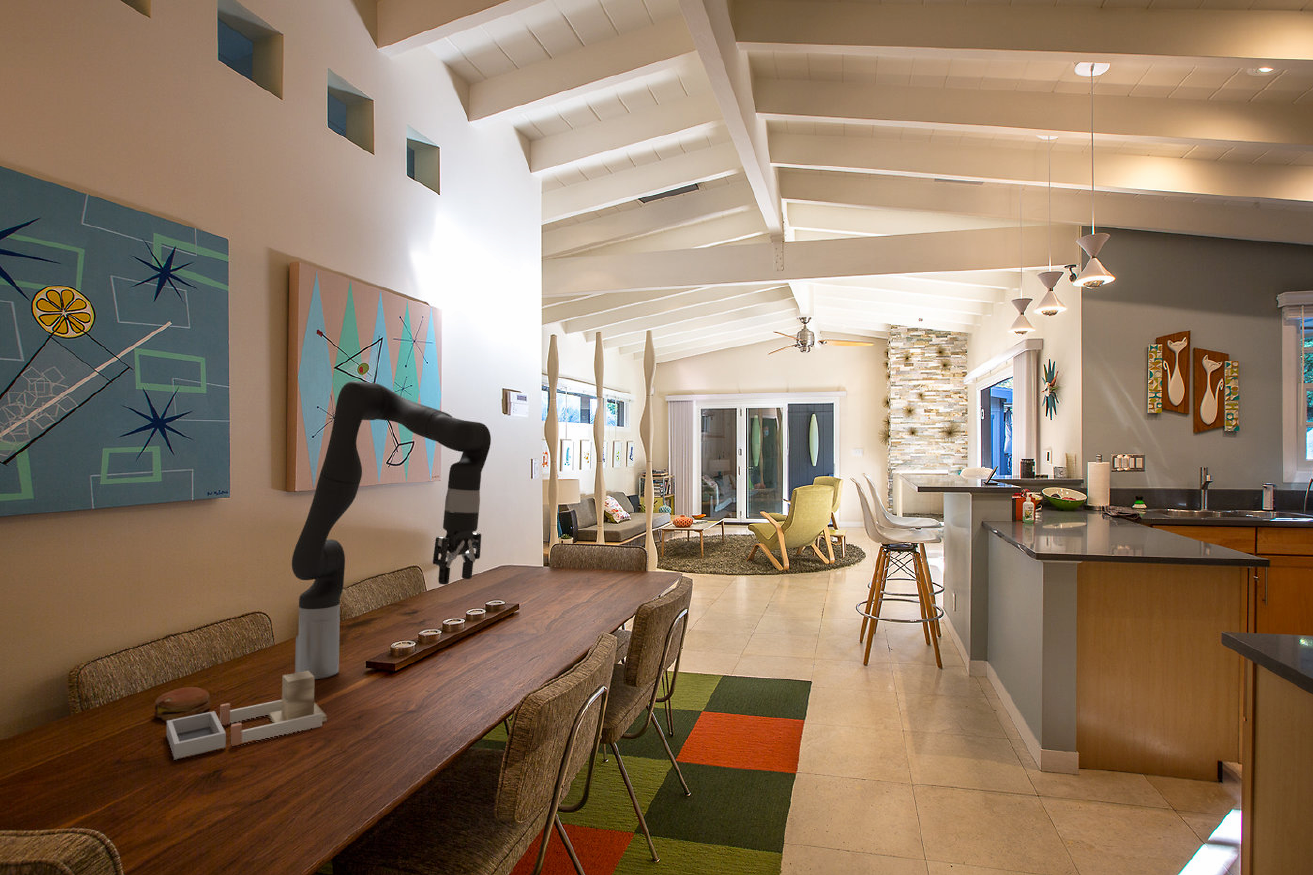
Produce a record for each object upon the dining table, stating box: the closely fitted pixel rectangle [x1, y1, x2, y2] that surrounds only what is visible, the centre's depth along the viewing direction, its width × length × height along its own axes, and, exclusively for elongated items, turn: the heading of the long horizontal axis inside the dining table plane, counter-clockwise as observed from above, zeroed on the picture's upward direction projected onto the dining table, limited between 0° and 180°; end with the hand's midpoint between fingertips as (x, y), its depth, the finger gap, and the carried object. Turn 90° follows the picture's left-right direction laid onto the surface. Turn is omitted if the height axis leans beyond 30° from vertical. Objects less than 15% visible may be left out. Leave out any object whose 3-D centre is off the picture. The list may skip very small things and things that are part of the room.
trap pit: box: [166, 710, 227, 761], centre depth 134 cm, size 8×14×3 cm, turn 40°
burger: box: [153, 686, 211, 722], centre depth 149 cm, size 10×9×5 cm
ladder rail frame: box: [219, 699, 323, 746], centre depth 142 cm, size 16×14×4 cm
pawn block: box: [268, 671, 328, 724], centre depth 146 cm, size 9×9×9 cm
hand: (455, 581), depth 156 cm, fingers open, 8 cm apart
